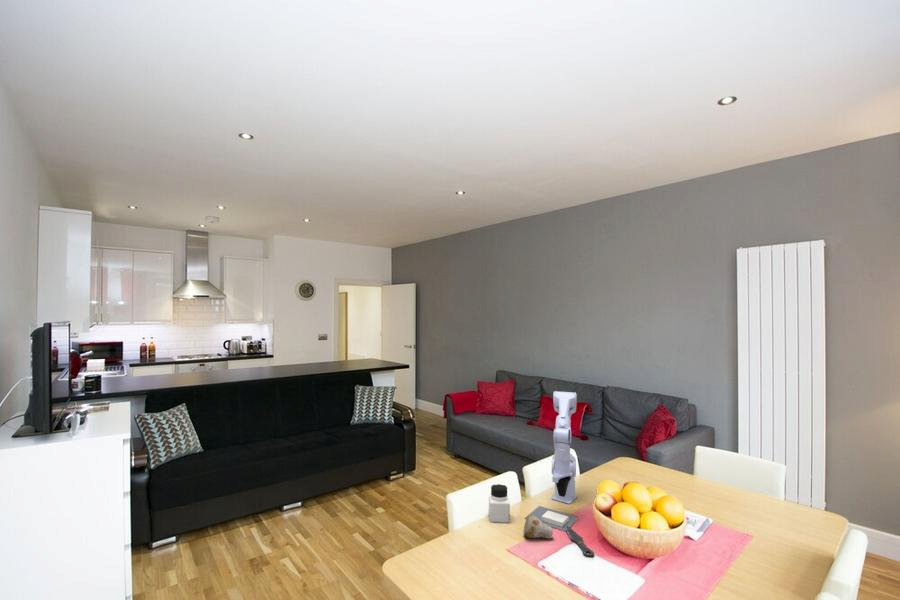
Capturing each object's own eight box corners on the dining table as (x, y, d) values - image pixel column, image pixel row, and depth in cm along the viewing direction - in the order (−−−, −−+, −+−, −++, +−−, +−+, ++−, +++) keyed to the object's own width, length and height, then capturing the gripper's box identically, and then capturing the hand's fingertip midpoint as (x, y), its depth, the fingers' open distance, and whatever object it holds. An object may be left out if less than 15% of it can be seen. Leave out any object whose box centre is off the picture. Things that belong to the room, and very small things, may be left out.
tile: (548, 510, 160) (541, 516, 155) (568, 516, 155) (562, 522, 151) (548, 515, 160) (541, 521, 155) (568, 521, 155) (562, 527, 150)
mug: (556, 544, 140) (542, 519, 139) (530, 552, 143) (516, 527, 142) (555, 528, 147) (542, 504, 147) (530, 536, 150) (517, 512, 149)
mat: (539, 506, 168) (539, 505, 168) (578, 518, 158) (578, 517, 158) (524, 518, 157) (524, 517, 157) (566, 532, 148) (566, 531, 148)
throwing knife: (584, 557, 132) (584, 555, 132) (558, 525, 152) (559, 523, 152) (597, 556, 133) (597, 554, 133) (570, 524, 152) (570, 523, 152)
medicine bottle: (509, 522, 154) (509, 489, 154) (489, 522, 154) (490, 489, 155) (507, 513, 161) (507, 482, 162) (488, 513, 161) (489, 481, 162)
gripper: (565, 467, 154) (565, 505, 153) (578, 457, 165) (578, 492, 165) (547, 463, 158) (546, 500, 157) (561, 453, 169) (561, 487, 169)
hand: (562, 495), depth 161 cm, fingers closed
